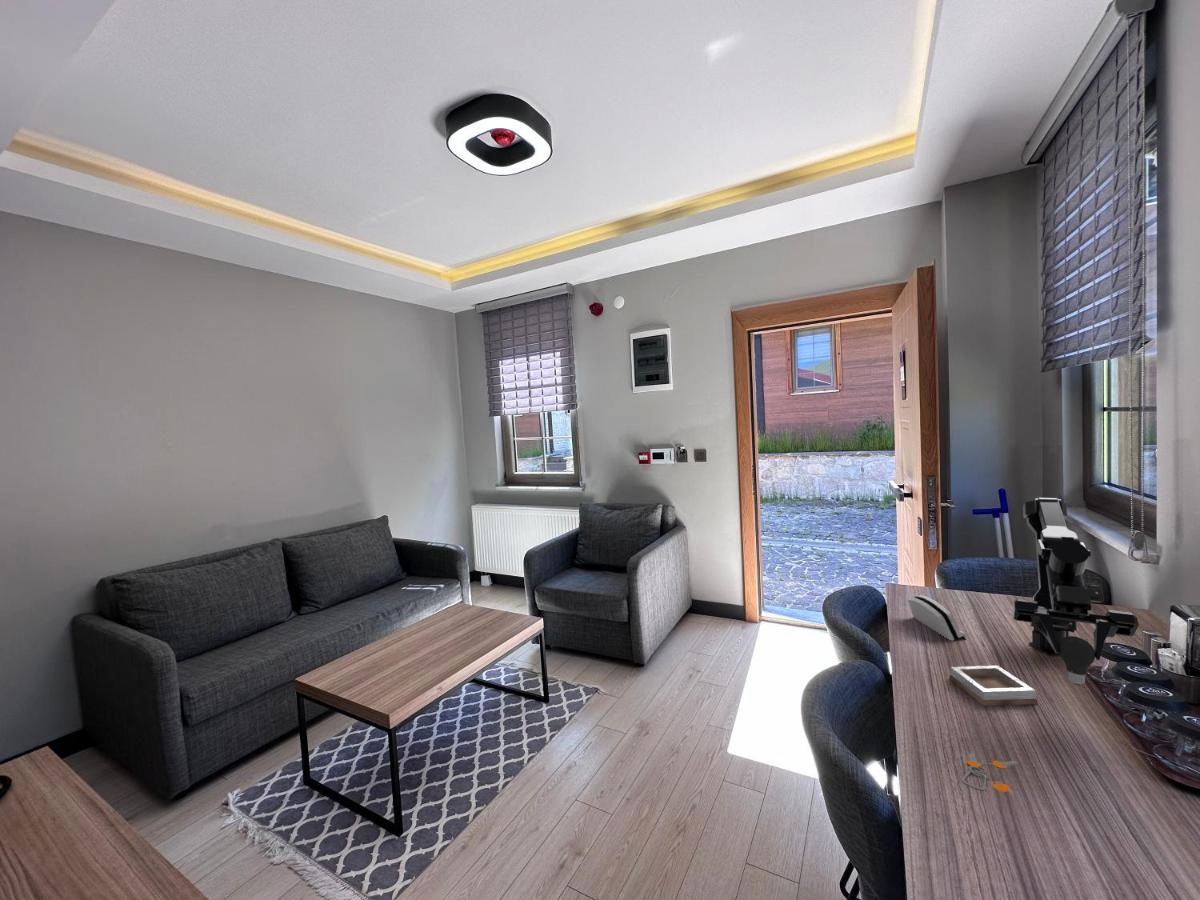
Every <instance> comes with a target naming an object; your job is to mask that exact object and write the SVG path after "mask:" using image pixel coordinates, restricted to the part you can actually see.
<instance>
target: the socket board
mask: <svg viewBox="0 0 1200 900" xmlns="http://www.w3.org/2000/svg"><path fill="white" fill-rule="evenodd" d="M970 678H971V679H973V680H974V681H975V682H977V683H978V684H979V685H981V686H982V687H984V688H985V689H990V688H1012V687H1011V686H1010V685H1008V684H1007V683H1005V682H1004V681H1002V680H1001V679H999V678H998V677H996V676H991V677H970ZM949 680H951V681H952V682H953V683H954V684H955V685H957V686H958V687H959V688H960V689H962V690H963V691H964V692H966V693H967V694H968V695H969V696H971V697H972V698H973V699H974V700H976V701H977V702H978V703H979V704H980V705H982V706H985V707H987V706H1015V705H1019V706H1020V705H1021V706H1022V705H1037V704H1038V699H1037V698H1036V697H1035V699H1022V700H989V701H983V700H982V699H981V698H980V697H978V696H977V695H976V694H974V693H973V692H972V691H971V690H969V689H968V688H967V687H965V686H964V685H963V684H962V683H960V682H959V681H958V680H956V679H955V678H954V677H953V676H951V674H949Z"/></svg>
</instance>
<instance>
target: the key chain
mask: <svg viewBox="0 0 1200 900" xmlns="http://www.w3.org/2000/svg"><path fill="white" fill-rule="evenodd" d="M967 757H968V758H969V759H967V760H966V764H967V765H968V766H969V767H968V771H967V772H966V773H965V774H964V776H963V777H962V778H961V782H962V783H963V784H965V785H967V786H968V787H971V788H974V789H977V790H980V791H984V792H985V790H987V788H986V784H987V779H988V781H991V778H990V777H988V776H987V775H986V773H987V772H988V771H987V769H986V768H985V767H983V766H985V765H991V766H994V767H996V768H998V767H999V769H1001V768H1002V769H1003V768H1004V769H1003V770H1005V768H1006V769H1007V768H1008V767H1009V766H1011V767H1012V766H1015V765H1019V762H1018V761H1016V760H1009V761H1003V762H1002V761H999V760H993V761H992V763H991V762H985V763H984V762H983V763H980V762H978V761H977V760H976V756H975V753H973V752H969V755H968V756H967ZM981 768H982V769H981ZM970 774H973V775H974V776H976V777H979V778H980V777H981V778H982V779H981V780H983V787H978V786H975V785H973V784H970V783H968V782H966V779H967V778H968V777H969V775H970ZM993 783H994V782H993ZM993 783H991V785H992V784H993ZM991 785H990V786H991ZM999 785H1001V786H999ZM992 788H993V789H995V790H997V791H999V792H1002V793H1003V792H1005V793H1006V792H1010V790H1011V789H1010V787H1009V785H1008V784H1006V783H1005V784H1002V783H1000V784H998V785H997V783H996V784H994V785H993V787H992Z"/></svg>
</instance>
